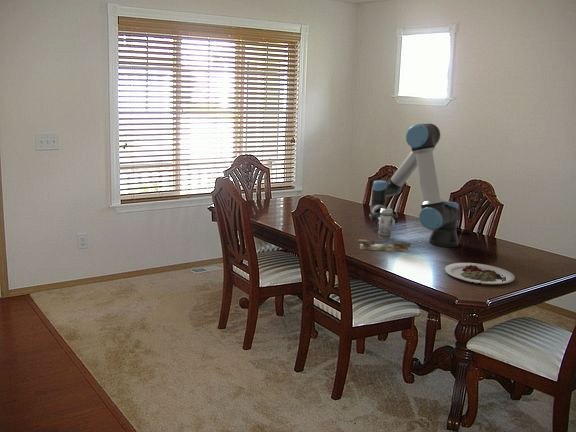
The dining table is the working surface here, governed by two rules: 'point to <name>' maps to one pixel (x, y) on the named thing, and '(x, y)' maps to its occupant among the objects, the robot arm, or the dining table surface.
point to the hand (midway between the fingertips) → (387, 222)
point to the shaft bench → (384, 246)
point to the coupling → (385, 223)
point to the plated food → (479, 273)
